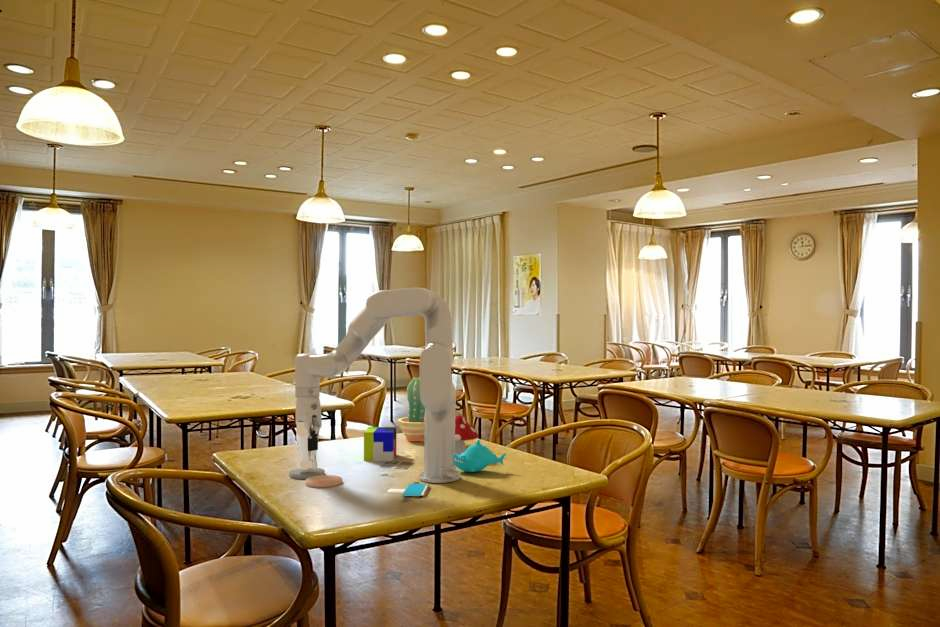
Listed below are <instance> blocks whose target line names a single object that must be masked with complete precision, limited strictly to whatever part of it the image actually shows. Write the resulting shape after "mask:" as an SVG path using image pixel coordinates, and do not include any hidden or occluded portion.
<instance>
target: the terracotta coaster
mask: <svg viewBox="0 0 940 627" xmlns="http://www.w3.org/2000/svg"><path fill="white" fill-rule="evenodd" d="M304 480H305V481H304V485H305V486H306V487H308V488H316V489H318V488H319V489H325V488H333V487H337V486H340V485H342V484H343V477H342V476H339V475H333V474H325V475H319V476H313V477H309V478H307V479H304Z"/></svg>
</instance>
